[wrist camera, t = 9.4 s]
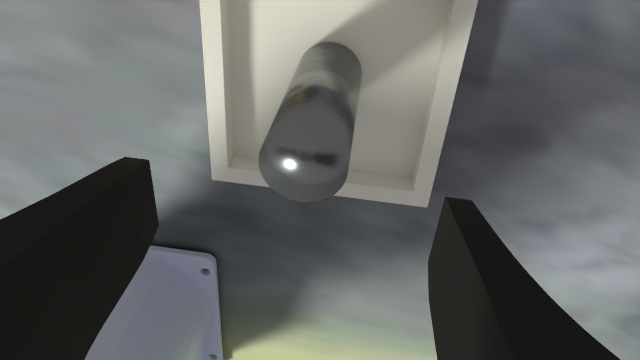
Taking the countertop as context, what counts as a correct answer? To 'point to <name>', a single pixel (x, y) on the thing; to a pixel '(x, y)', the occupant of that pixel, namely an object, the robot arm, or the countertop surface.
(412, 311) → the countertop surface
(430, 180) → the tray
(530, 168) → the countertop surface
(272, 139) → the cylinder
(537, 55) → the countertop surface
